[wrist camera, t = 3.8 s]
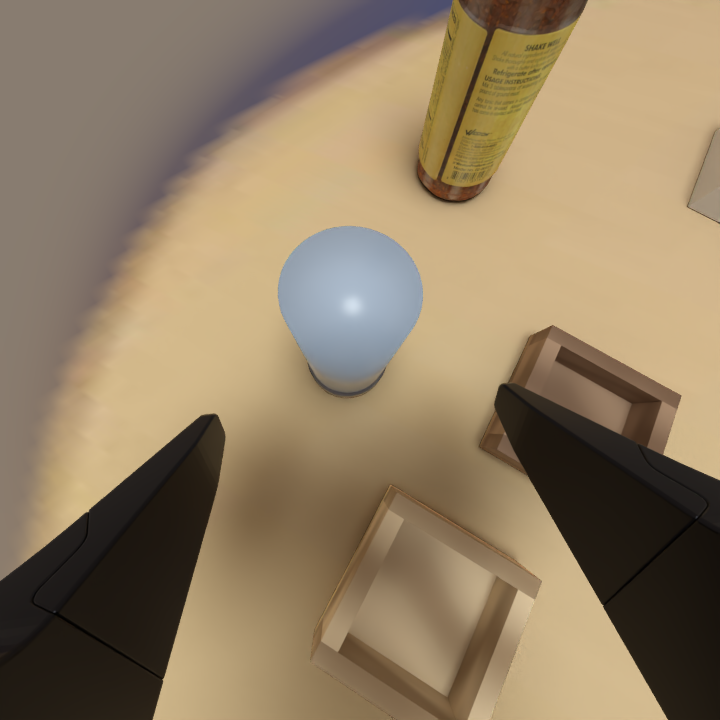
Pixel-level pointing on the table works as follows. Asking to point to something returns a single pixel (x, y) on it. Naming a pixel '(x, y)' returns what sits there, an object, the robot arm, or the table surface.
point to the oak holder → (424, 616)
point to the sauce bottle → (487, 87)
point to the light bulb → (349, 305)
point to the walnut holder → (588, 392)
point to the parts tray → (709, 183)
